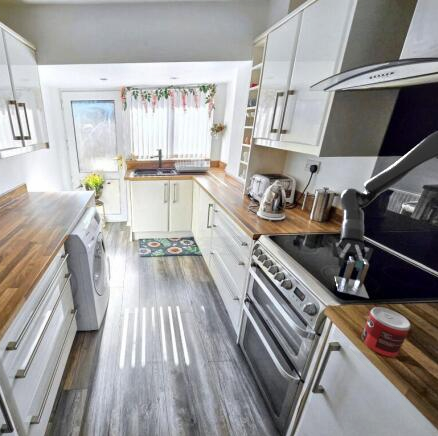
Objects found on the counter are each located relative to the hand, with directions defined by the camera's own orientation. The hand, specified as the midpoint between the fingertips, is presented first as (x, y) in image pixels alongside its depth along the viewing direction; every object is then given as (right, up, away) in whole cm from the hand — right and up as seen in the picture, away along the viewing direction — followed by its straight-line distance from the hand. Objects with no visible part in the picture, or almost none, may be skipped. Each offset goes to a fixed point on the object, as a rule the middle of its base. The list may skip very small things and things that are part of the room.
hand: (349, 268), depth 98 cm
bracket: (-3, -7, -4) cm, 9 cm away
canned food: (-16, -17, -28) cm, 36 cm away
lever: (-2, +2, -4) cm, 5 cm away
